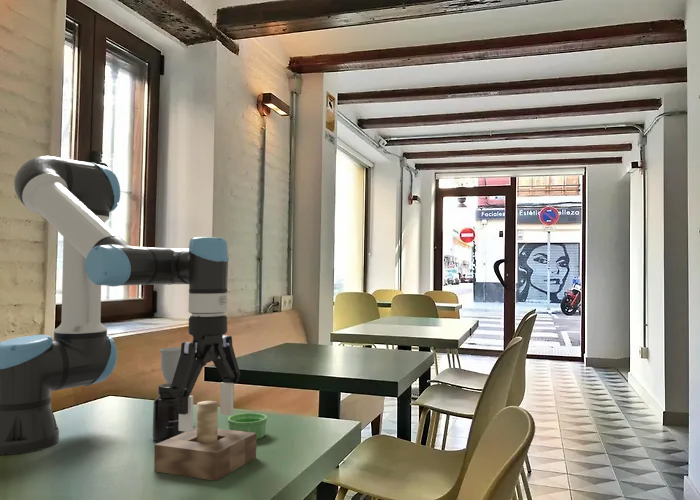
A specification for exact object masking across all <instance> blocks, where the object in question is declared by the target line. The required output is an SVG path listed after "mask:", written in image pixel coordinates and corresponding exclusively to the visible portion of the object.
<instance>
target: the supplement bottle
mask: <svg viewBox="0 0 700 500" xmlns="http://www.w3.org/2000/svg"><path fill="white" fill-rule="evenodd" d="M157 387H158V388H157V389H158V391H157V395H158V396H157V397H156V398H155V399H154V400H153V405H152V439H153V440H154V441H156V442H162V441H165V440H167V439H170V438H172V437H174V436H177V435H179V434H182V433H184V432H185V431H179V414H178V397H177V396H174V395H173V394H170V392H169V391H170V387H171V384H167V383H163V384H159V385H158V386H157ZM177 388H178V387H177Z"/></svg>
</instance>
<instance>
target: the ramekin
mask: <svg viewBox="0 0 700 500" xmlns="http://www.w3.org/2000/svg"><path fill="white" fill-rule="evenodd" d="M267 420H268V416H267V415H266V414H263V413H258V412H257V413H256V412H244V413H241V412H240V413H236V414H233V415H229V416H228V418H227V422H228V430H235V431H243V432H252V433H256V441H257V440H260V439H262V438H263V437H264V436H265V435H266V424H267Z"/></svg>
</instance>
